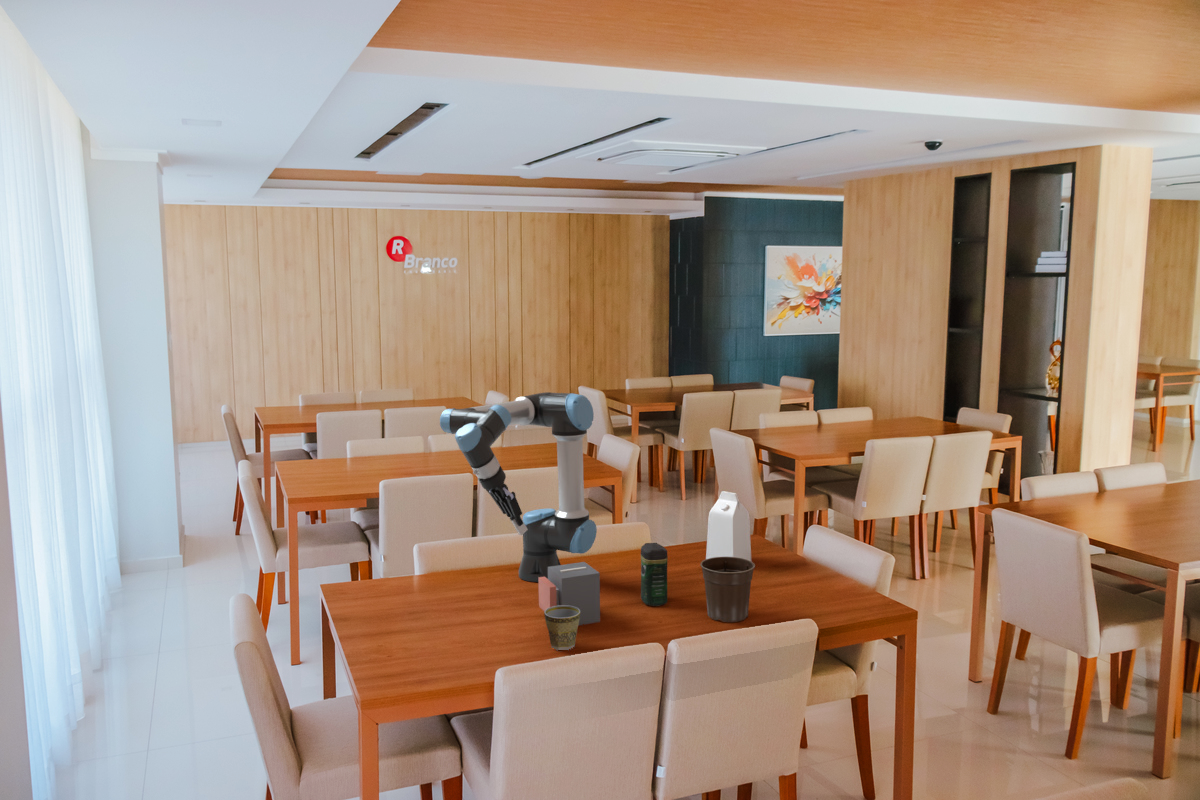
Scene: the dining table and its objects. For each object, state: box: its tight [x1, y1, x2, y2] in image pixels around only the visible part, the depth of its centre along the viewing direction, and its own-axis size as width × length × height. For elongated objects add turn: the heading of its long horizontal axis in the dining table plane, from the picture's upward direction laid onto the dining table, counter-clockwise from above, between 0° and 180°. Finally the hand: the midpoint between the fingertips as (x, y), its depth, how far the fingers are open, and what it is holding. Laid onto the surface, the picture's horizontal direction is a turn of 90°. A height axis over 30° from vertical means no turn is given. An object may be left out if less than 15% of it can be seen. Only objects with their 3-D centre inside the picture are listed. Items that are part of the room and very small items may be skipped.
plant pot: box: [700, 557, 756, 623], centre depth 256 cm, size 16×16×16 cm
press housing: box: [548, 561, 601, 626], centre depth 255 cm, size 12×12×15 cm
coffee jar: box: [640, 542, 669, 607], centre depth 268 cm, size 10×8×19 cm
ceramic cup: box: [543, 605, 580, 651], centre depth 236 cm, size 13×10×10 cm
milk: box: [705, 490, 752, 562], centre depth 307 cm, size 12×12×26 cm
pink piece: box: [538, 577, 559, 612], centre depth 254 cm, size 14×10×9 cm
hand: (523, 531), depth 257 cm, fingers closed
